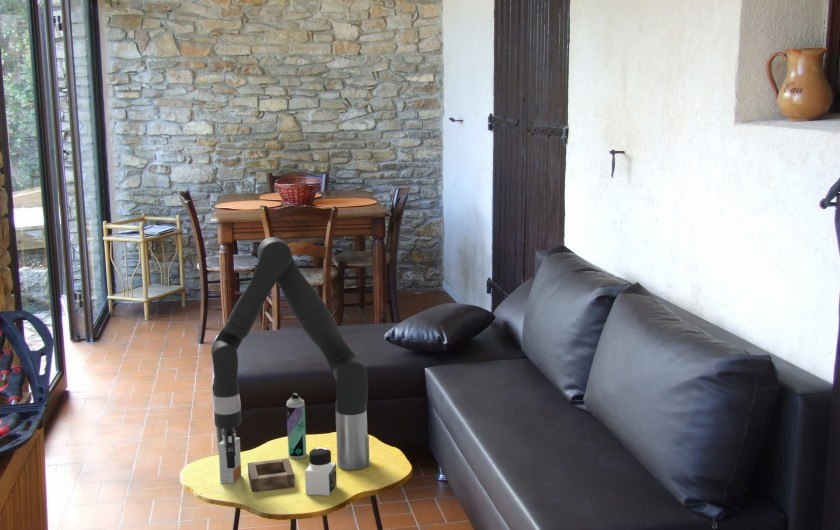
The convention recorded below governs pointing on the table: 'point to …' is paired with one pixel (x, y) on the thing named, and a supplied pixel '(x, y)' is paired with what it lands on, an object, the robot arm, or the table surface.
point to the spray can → (296, 427)
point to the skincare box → (226, 473)
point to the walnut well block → (271, 475)
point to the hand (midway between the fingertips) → (230, 462)
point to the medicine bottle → (320, 473)
